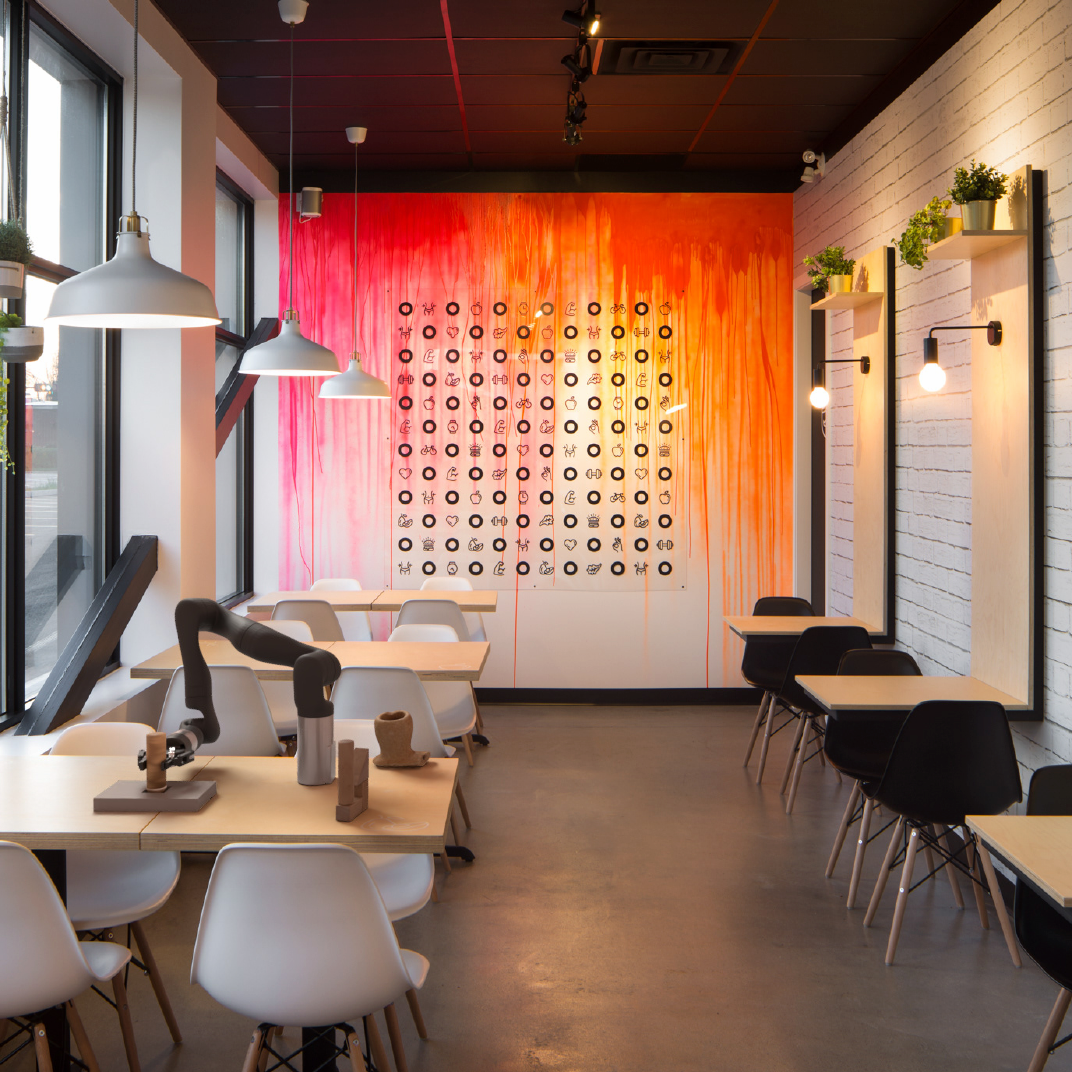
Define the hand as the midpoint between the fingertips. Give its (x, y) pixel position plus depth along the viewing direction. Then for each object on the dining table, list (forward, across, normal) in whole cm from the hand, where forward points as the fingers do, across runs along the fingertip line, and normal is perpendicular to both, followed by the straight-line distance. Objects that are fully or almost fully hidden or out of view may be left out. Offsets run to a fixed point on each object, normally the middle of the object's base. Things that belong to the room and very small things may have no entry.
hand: (152, 766), depth 228 cm
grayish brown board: (-3, 0, +9) cm, 10 cm away
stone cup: (-35, +54, +10) cm, 65 cm away
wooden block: (+5, +48, +9) cm, 49 cm away
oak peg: (-3, 0, +9) cm, 9 cm away
